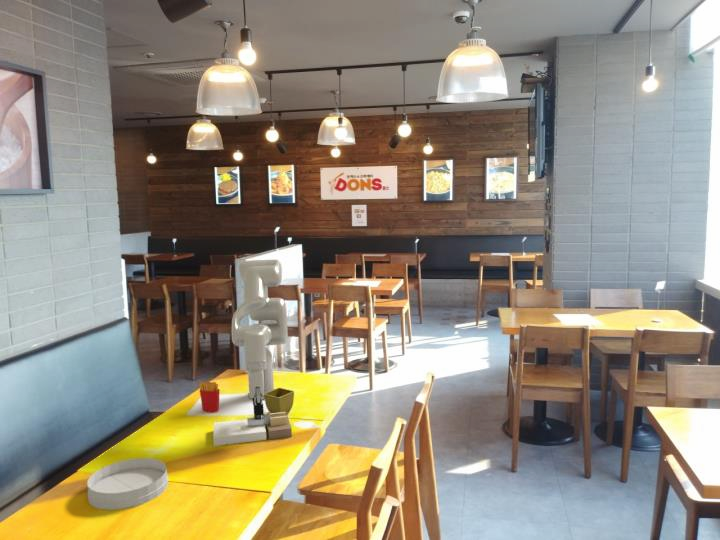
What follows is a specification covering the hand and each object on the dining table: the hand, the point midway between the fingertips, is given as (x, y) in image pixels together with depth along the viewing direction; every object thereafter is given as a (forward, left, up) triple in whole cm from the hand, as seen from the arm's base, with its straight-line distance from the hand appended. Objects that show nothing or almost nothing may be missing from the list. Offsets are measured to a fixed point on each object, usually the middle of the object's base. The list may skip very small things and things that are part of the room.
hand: (258, 410), depth 207 cm
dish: (+32, -40, -9) cm, 52 cm away
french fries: (-28, -18, -9) cm, 35 cm away
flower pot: (-15, +9, -9) cm, 20 cm away
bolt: (+1, +2, -5) cm, 6 cm away
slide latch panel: (+1, -3, -8) cm, 9 cm away
